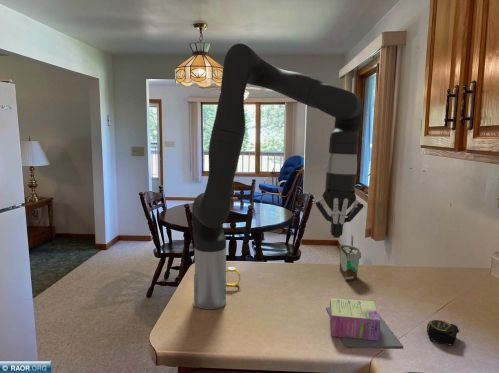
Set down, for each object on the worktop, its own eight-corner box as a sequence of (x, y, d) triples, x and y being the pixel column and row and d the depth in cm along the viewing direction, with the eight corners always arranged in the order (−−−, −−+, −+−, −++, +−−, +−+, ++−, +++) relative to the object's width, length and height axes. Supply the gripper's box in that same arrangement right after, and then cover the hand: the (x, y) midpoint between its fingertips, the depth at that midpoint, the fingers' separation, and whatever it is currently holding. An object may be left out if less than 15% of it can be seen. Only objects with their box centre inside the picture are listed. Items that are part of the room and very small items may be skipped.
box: (330, 336, 94) (379, 341, 92) (331, 315, 93) (380, 319, 91) (328, 317, 104) (373, 320, 102) (329, 297, 103) (374, 300, 101)
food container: (364, 283, 128) (366, 255, 127) (346, 282, 129) (348, 254, 127) (354, 270, 141) (356, 244, 139) (338, 269, 141) (339, 244, 139)
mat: (345, 347, 90) (345, 346, 90) (325, 308, 109) (326, 307, 109) (403, 347, 90) (403, 345, 90) (373, 308, 110) (373, 307, 110)
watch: (221, 286, 124) (222, 269, 123) (222, 283, 127) (222, 266, 126) (240, 287, 124) (240, 269, 123) (240, 283, 127) (240, 266, 126)
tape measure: (453, 350, 89) (455, 336, 89) (423, 340, 94) (424, 326, 93) (458, 338, 95) (460, 324, 94) (429, 329, 99) (430, 316, 98)
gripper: (318, 171, 92) (313, 239, 94) (371, 174, 92) (365, 242, 95) (313, 169, 100) (308, 232, 102) (362, 171, 100) (357, 234, 102)
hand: (336, 236), depth 98 cm, fingers closed
